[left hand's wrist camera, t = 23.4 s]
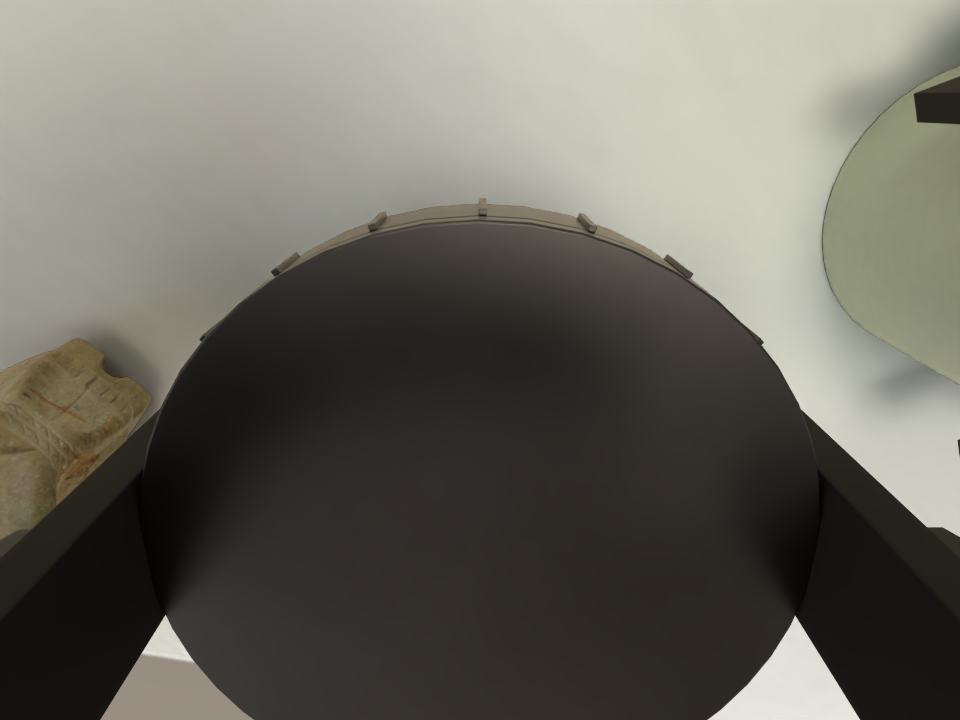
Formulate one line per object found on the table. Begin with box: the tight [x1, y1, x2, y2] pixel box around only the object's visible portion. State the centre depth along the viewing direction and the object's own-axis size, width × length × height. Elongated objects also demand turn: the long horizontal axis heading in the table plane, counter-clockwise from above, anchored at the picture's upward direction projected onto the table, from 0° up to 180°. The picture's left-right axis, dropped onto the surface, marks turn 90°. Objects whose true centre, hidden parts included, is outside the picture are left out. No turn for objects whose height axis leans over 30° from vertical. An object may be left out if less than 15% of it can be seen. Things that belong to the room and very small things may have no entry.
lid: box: [141, 199, 821, 720], centre depth 11 cm, size 11×11×2 cm
